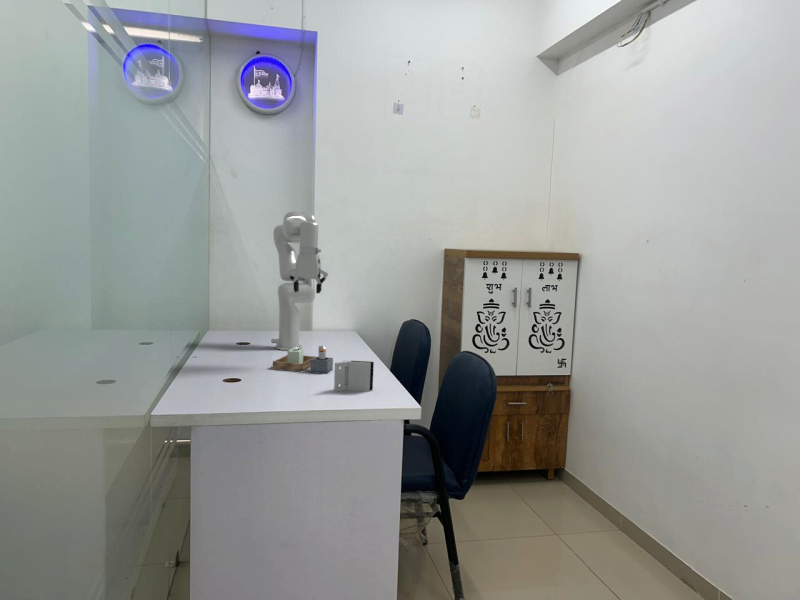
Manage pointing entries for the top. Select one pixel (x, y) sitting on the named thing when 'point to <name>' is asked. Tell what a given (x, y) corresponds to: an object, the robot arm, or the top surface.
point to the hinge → (353, 375)
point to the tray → (292, 364)
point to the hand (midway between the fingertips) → (307, 292)
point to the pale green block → (295, 356)
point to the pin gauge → (322, 353)
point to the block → (321, 365)
